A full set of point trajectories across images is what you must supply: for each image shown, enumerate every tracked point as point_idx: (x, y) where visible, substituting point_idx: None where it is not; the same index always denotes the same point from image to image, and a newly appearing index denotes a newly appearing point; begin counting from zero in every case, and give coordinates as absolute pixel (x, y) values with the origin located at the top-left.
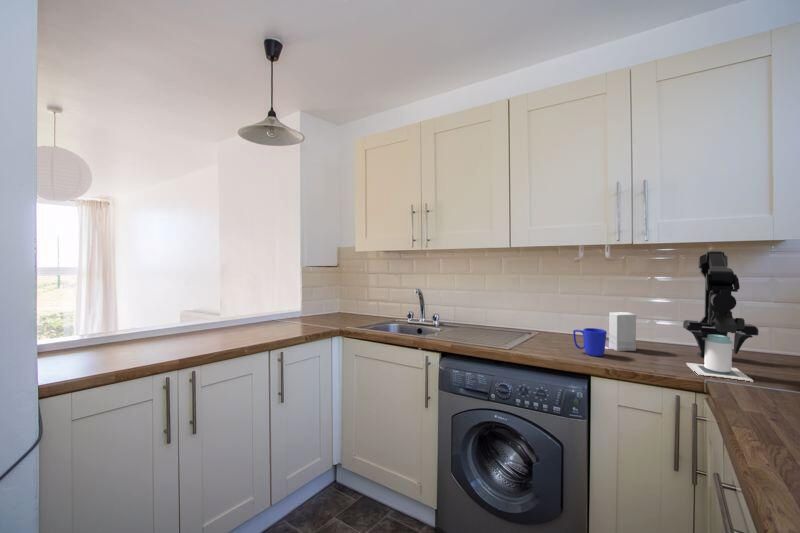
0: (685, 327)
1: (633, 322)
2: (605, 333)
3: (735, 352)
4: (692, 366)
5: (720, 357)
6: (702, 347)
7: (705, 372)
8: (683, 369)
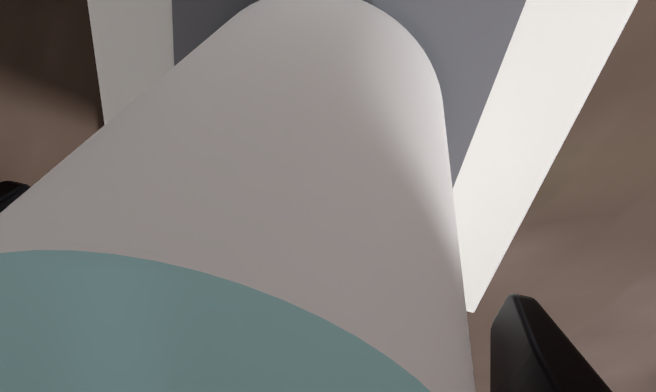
0: None
1: None
2: None
3: (9, 199)
4: (502, 214)
5: (316, 64)
6: (536, 342)
7: None
8: (647, 145)
